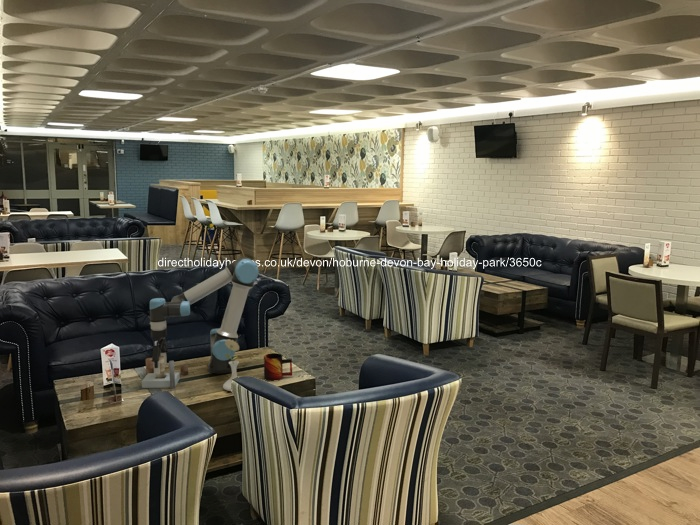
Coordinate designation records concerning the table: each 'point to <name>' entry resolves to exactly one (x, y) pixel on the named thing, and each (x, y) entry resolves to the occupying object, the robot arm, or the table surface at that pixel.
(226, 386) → the flower in vase
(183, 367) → the short pin
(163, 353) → the robot arm
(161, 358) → the long pin
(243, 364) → the table surface
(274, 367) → the mug
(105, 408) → the table surface
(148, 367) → the medium pin
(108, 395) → the table surface
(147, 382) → the hole plate
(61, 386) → the table surface
